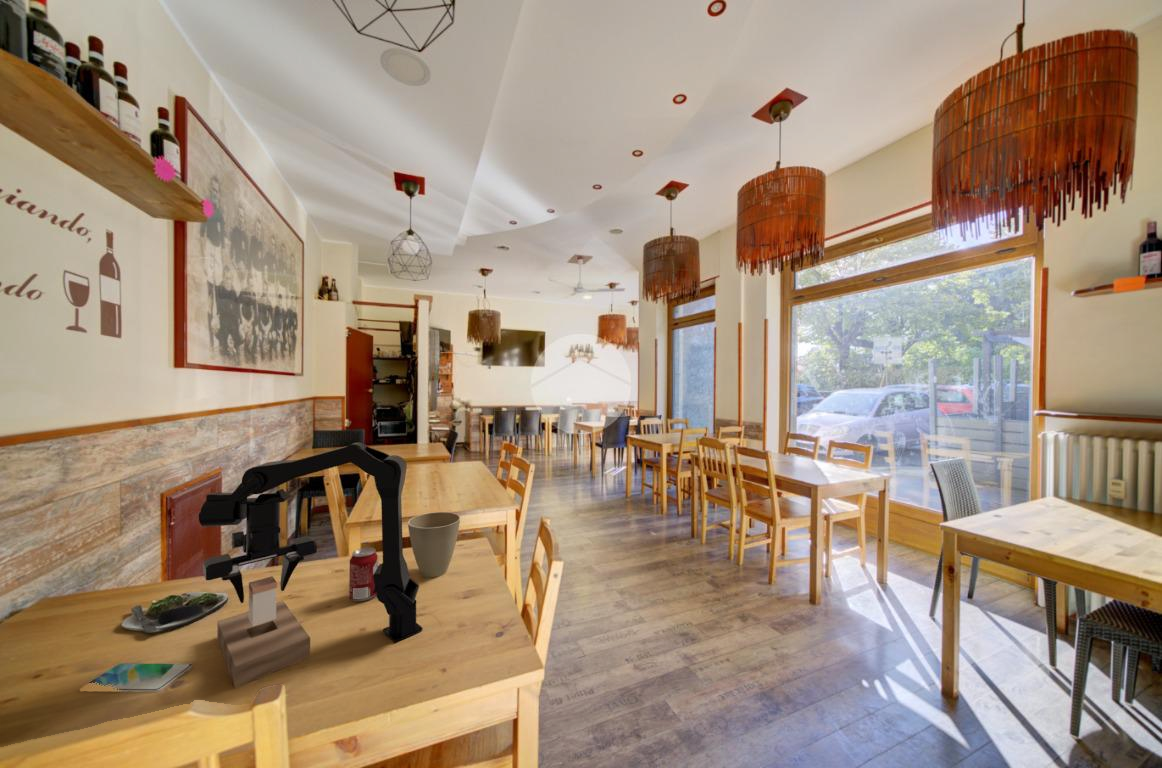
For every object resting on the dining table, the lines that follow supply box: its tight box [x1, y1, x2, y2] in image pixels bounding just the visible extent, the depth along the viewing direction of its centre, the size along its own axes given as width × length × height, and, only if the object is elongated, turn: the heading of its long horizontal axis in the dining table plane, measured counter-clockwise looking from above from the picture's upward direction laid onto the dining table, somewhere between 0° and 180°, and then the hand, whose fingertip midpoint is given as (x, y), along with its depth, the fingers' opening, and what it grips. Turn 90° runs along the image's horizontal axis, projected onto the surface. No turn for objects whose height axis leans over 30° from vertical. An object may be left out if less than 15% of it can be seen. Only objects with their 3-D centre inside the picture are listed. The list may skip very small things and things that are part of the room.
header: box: [216, 600, 311, 689], centre depth 89 cm, size 22×12×4 cm, turn 48°
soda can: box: [348, 547, 379, 602], centre depth 110 cm, size 7×7×12 cm
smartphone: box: [88, 662, 193, 693], centre depth 79 cm, size 7×1×15 cm
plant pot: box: [407, 511, 461, 578], centre depth 125 cm, size 15×15×16 cm
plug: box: [248, 576, 278, 626], centre depth 89 cm, size 4×4×8 cm
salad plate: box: [121, 591, 229, 634], centre depth 101 cm, size 19×18×5 cm
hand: (262, 596), depth 89 cm, fingers open, 7 cm apart
